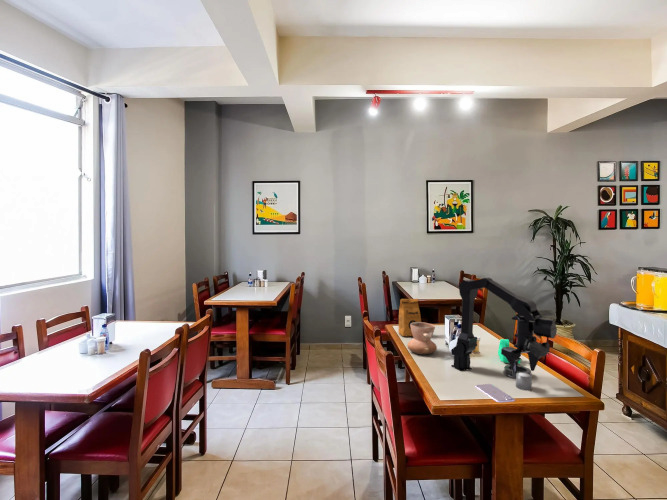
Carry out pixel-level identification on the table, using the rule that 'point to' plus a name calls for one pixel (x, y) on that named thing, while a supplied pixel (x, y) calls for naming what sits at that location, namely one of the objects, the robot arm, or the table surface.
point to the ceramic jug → (422, 338)
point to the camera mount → (502, 344)
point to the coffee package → (408, 315)
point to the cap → (523, 381)
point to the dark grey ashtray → (520, 369)
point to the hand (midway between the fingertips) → (523, 372)
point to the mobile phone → (495, 393)
